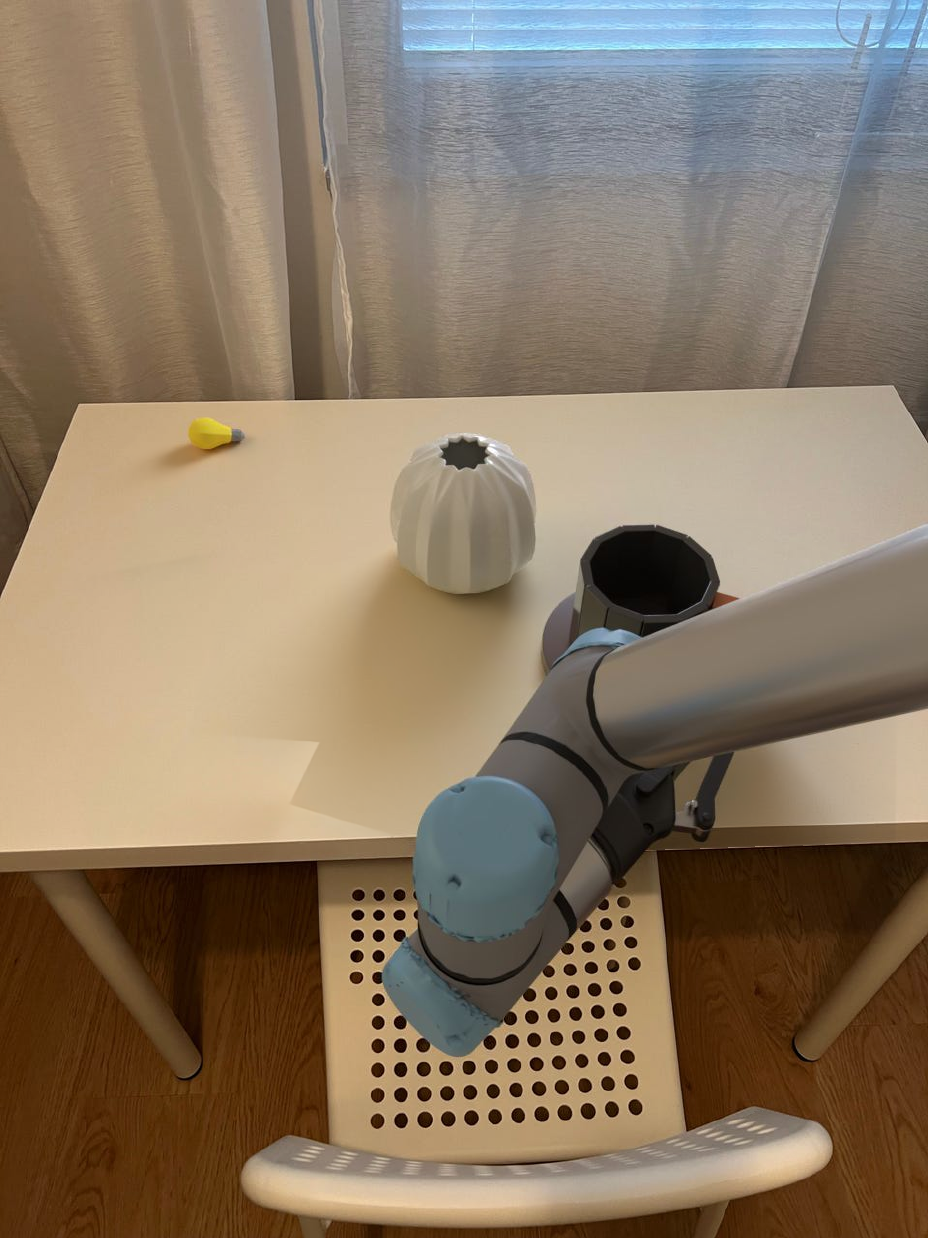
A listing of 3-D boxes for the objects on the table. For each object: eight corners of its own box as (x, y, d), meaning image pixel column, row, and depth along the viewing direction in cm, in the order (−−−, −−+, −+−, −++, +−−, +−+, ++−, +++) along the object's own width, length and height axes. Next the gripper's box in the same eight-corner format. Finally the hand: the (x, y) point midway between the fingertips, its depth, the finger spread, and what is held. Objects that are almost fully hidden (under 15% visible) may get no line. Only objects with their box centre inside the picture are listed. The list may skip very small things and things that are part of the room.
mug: (653, 576, 89) (671, 501, 82) (766, 684, 80) (797, 610, 73) (546, 630, 84) (554, 555, 77) (654, 750, 76) (675, 678, 69)
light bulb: (185, 442, 104) (187, 411, 102) (240, 446, 106) (243, 415, 104) (189, 453, 101) (190, 421, 99) (245, 456, 103) (248, 424, 102)
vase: (533, 515, 96) (542, 407, 86) (531, 617, 87) (541, 510, 77) (400, 508, 97) (394, 401, 87) (384, 609, 88) (375, 502, 78)
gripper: (498, 818, 70) (674, 639, 82) (642, 933, 64) (810, 723, 76) (502, 764, 64) (691, 580, 76) (660, 884, 59) (839, 666, 70)
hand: (750, 652), depth 76 cm, fingers closed
